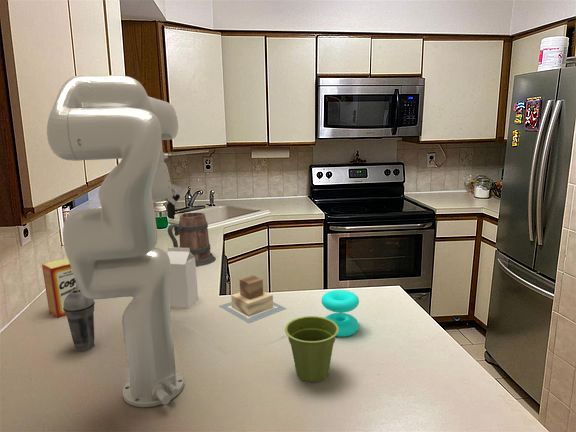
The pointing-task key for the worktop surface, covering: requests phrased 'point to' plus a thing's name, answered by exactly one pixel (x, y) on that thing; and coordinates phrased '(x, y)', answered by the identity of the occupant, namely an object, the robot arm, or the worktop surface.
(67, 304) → the beverage cup
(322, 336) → the plant pot
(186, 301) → the milk carton
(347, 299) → the donuts
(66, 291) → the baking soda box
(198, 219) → the tankard
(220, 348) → the worktop surface
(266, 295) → the maple slab
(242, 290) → the walnut block
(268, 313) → the board
